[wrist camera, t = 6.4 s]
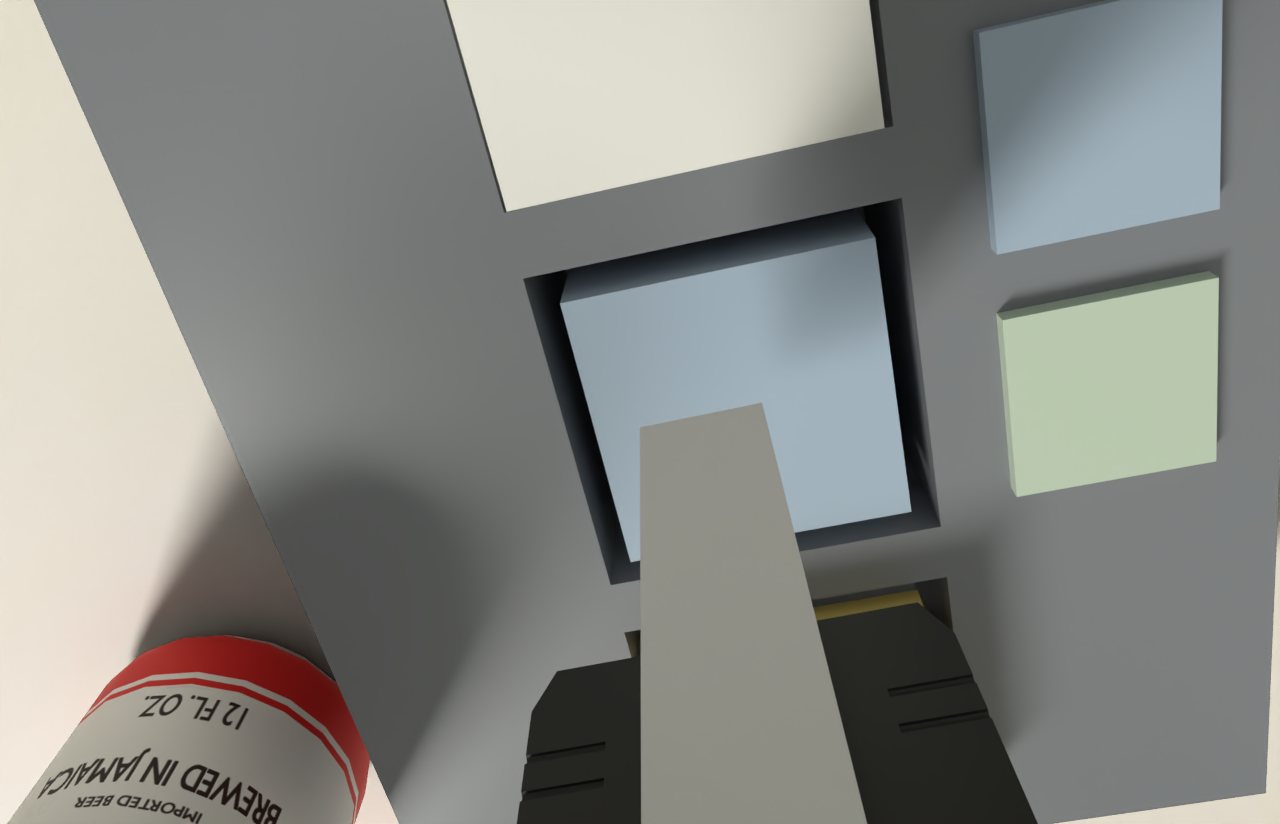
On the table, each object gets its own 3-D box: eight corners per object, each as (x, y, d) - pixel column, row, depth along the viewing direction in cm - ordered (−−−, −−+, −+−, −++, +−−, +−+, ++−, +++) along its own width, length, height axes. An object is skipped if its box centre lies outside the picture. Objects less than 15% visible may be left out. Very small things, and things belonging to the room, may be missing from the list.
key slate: (634, 489, 19) (630, 562, 17) (572, 255, 17) (559, 303, 15) (882, 442, 19) (911, 511, 17) (847, 195, 17) (875, 237, 15)
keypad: (474, 750, 25) (435, 924, 21) (-74, -675, 14) (-400, -935, 10) (1160, 639, 23) (1274, 805, 19) (1135, -1090, 12) (1392, -1637, 8)
